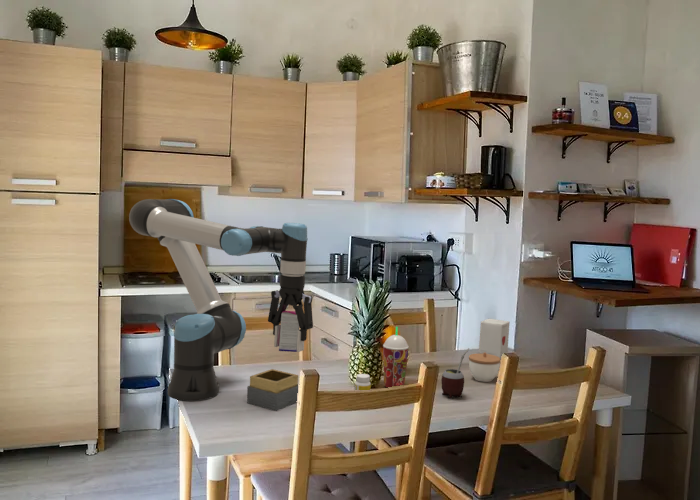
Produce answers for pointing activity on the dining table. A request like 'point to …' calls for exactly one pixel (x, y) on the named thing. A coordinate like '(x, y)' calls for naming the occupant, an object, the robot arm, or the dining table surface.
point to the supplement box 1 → (288, 331)
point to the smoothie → (395, 360)
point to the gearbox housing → (273, 389)
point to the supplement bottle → (362, 382)
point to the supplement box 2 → (494, 337)
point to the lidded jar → (484, 366)
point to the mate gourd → (453, 381)
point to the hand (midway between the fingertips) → (288, 348)
